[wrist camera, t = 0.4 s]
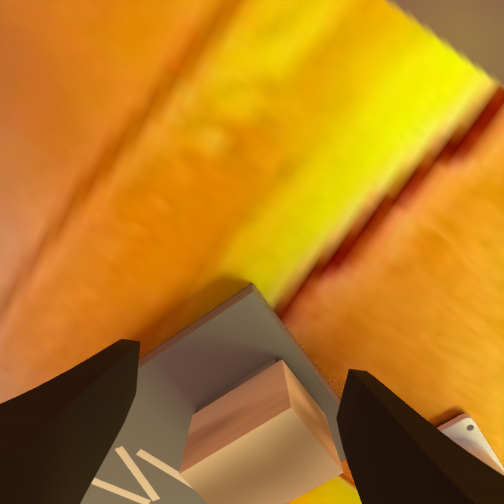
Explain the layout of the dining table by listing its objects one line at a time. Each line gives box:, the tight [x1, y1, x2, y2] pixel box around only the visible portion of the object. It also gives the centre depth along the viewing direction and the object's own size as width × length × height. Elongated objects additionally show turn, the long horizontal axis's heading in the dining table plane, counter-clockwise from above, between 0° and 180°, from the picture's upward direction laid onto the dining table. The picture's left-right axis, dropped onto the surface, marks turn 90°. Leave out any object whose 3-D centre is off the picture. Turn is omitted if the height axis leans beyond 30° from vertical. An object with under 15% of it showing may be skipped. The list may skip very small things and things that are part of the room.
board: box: [80, 283, 346, 504], centre depth 22 cm, size 14×20×2 cm
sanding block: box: [179, 358, 343, 504], centre depth 18 cm, size 5×7×4 cm
